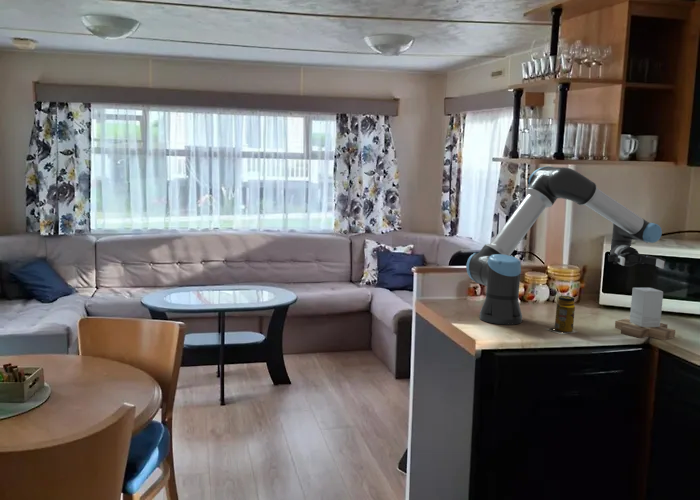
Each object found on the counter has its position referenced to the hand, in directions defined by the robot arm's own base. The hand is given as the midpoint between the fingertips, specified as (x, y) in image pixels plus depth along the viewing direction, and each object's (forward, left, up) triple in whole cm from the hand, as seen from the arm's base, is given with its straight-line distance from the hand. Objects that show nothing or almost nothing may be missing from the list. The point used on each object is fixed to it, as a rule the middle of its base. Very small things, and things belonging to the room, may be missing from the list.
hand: (643, 263), depth 234 cm
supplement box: (-1, -10, -21) cm, 23 cm away
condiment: (-29, -16, -23) cm, 41 cm away
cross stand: (0, -10, -23) cm, 25 cm away
